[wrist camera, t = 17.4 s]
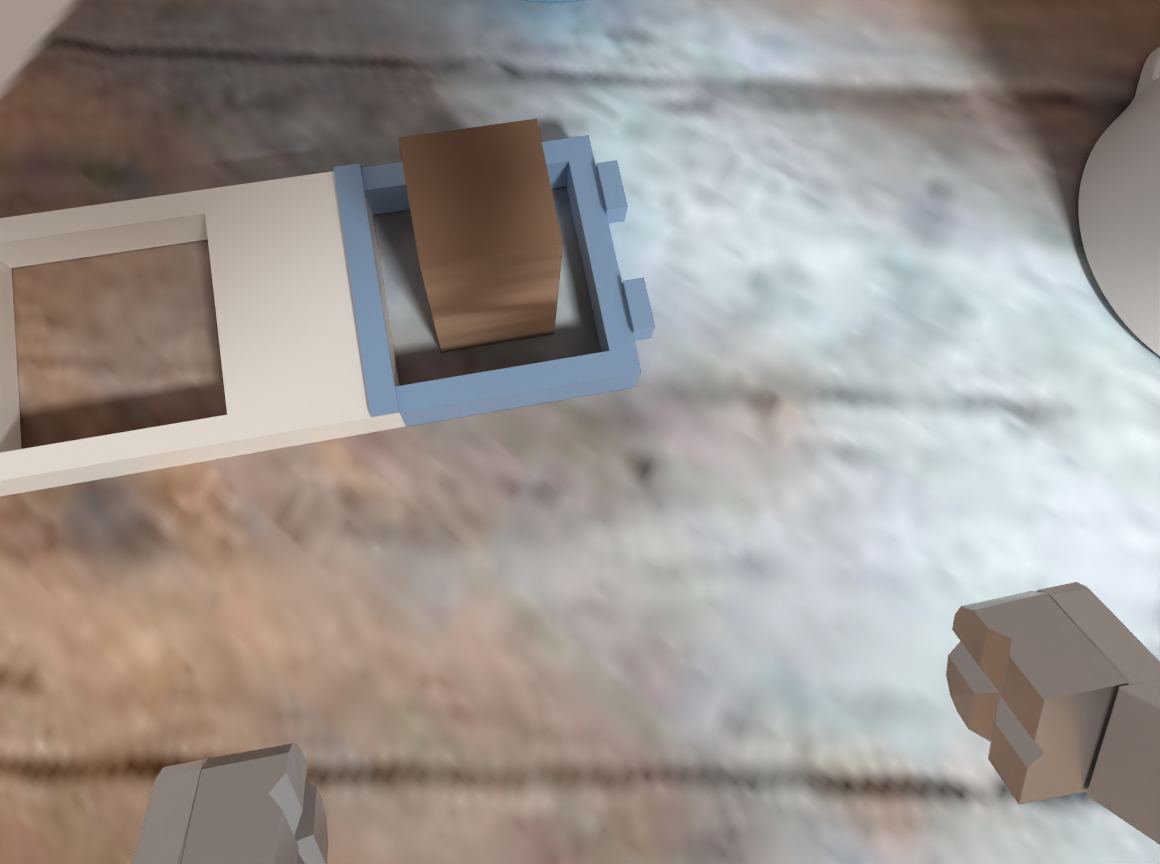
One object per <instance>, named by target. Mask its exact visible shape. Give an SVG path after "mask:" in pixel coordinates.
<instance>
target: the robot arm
mask: <svg viewBox="0 0 1160 864" xmlns="http://www.w3.org/2000/svg"><path fill="white" fill-rule="evenodd" d="M1078 214H1079V226H1080V232H1081V238H1082V242H1083V246H1084V250H1085V253H1086V257H1087V260H1088V262H1089V265H1090V268H1091V270H1092V273H1093V275H1094V277H1095V279H1096V281H1097V283H1098V285H1099V287H1100V289H1101V290H1102V292H1103V294H1104V296H1105V297H1106V299H1107V300H1108V302H1109V303H1110V305H1111V306H1112V308H1113V309H1114V310H1115V312H1116V313H1117V315H1118V316H1119V317H1120V318H1121V319H1122V321H1123V322H1124V323H1125V324H1126V326H1127V327H1128V328H1129V329H1130V330H1131V331H1132V332H1133V333H1134V334H1135V335H1136V336H1137V337H1138V338H1139V339H1140V340H1141V341H1142V342H1143V343H1144V344H1145V345H1147V346H1148V347H1149V348H1150V349H1151V350H1153V351H1154V352H1155V353H1156V354H1158V355H1159V356H1160V46H1159V47H1158V48H1157V49H1155V50H1154V51H1153V52H1152V53H1151V54H1150V55H1149V56H1148V58H1147V60H1146V62H1145V64H1144V67H1143V69H1142V72H1141V76H1140V79H1139V83H1138V86H1137V90H1136V94H1135V97H1134V99H1133V100H1132V102H1131V103H1130V105H1129V106H1128V107H1127V108H1126V109H1125V111H1124V112H1123V113H1122V114H1121V115H1120V116H1119V117H1118V118H1117V119H1116V120H1115V121H1114V122H1113V123H1112V124H1111V125H1110V126H1109V127H1108V128H1107V129H1106V130H1105V131H1104V133H1103V134H1102V135H1101V137H1100V138H1099V140H1098V141H1097V143H1096V144H1095V146H1094V148H1093V150H1092V151H1091V153H1090V156H1089V158H1088V160H1087V163H1086V165H1085V168H1084V171H1083V175H1082V179H1081V184H1080V191H1079V202H1078ZM952 630H953V631H954V632H955V634H956V635H957V637H958V638H959V639H960V643H959V644H958V645H957V646H956V647H955V648H954V649H953V650H952V652H951V653H950V654H949V655H948V663H947V672H946V676H947V681H948V686H949V691H950V695H951V698H952V700H953V703H954V705H955V707H956V709H957V712H958V713H959V715H960V717H961V718H962V720H963V721H964V723H965V724H966V726H967V727H968V729H969V730H971V731H973V732H975V733H976V734H978V735H980V736H982V737H983V738H985V739H987V740H989V741H990V748H989V756H988V759H989V761H990V762H991V764H992V765H993V767H994V768H995V770H996V771H997V773H998V774H999V776H1000V777H1001V779H1002V780H1003V781H1004V783H1005V784H1006V786H1007V787H1008V789H1009V790H1010V792H1011V793H1012V795H1013V796H1014V798H1015V799H1016V801H1017V802H1018V804H1024V803H1029V802H1034V801H1039V800H1044V799H1049V798H1055V797H1060V796H1065V795H1070V794H1075V793H1080V792H1085V791H1087V794H1086V795H1087V796H1089V797H1090V798H1092V799H1093V800H1095V801H1096V802H1097V803H1099V804H1100V805H1102V806H1103V807H1105V808H1106V809H1108V810H1109V811H1111V812H1112V813H1114V814H1115V815H1117V816H1118V817H1120V818H1121V819H1123V820H1124V821H1126V822H1127V823H1129V824H1130V825H1132V826H1133V827H1135V828H1136V829H1137V830H1139V831H1140V832H1142V833H1143V834H1145V835H1146V836H1148V837H1149V838H1151V839H1152V840H1154V841H1155V842H1157V843H1158V844H1160V661H1159V660H1158V659H1157V658H1156V657H1155V656H1154V655H1153V654H1152V653H1151V652H1150V651H1149V650H1148V649H1147V648H1146V647H1145V646H1144V645H1143V644H1142V643H1141V642H1140V641H1139V640H1138V639H1137V638H1136V637H1135V636H1134V635H1133V634H1132V633H1131V632H1130V631H1129V630H1128V628H1127V627H1126V626H1125V625H1124V624H1123V623H1122V622H1121V621H1120V620H1119V619H1118V618H1117V617H1116V616H1115V615H1114V614H1113V613H1112V612H1111V611H1110V610H1109V609H1108V608H1107V607H1106V606H1105V605H1104V604H1103V603H1102V602H1101V601H1100V600H1099V599H1098V598H1097V597H1096V596H1095V595H1094V594H1093V593H1092V591H1091V590H1090V589H1088V588H1087V587H1086V586H1084V585H1082V584H1080V583H1078V582H1075V583H1070V584H1065V585H1060V586H1055V587H1051V588H1046V589H1041V590H1038V591H1029V592H1025V593H1020V594H1016V595H1011V596H1006V597H1002V598H997V599H992V600H988V601H983V602H979V603H974V604H969V605H965V606H961V607H960V608H959V610H958V611H957V612H956V614H955V617H954V623H953V629H952ZM306 767H307V761H306V759H305V757H304V755H303V752H302V750H301V748H300V746H299V744H287V745H282V746H276V747H270V748H265V749H259V750H253V751H248V752H242V753H237V754H231V755H225V756H220V757H214V758H208V759H206V760H200V761H195V762H190V763H184V764H179V765H173V766H168V767H163V769H162V770H161V772H160V773H159V775H158V777H157V778H156V780H155V781H154V785H153V788H152V792H151V796H150V800H149V803H148V807H147V811H146V814H145V818H144V822H143V826H142V829H141V833H140V837H139V840H138V844H137V848H136V852H135V855H134V859H133V863H132V864H327V856H328V836H327V822H326V815H325V811H324V807H323V802H322V799H321V796H320V794H319V791H318V788H317V787H316V786H315V785H313V784H311V783H309V782H307V781H305V778H306Z"/></svg>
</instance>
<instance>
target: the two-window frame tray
mask: <svg viewBox="0 0 1160 864" xmlns="http://www.w3.org/2000/svg"><path fill="white" fill-rule="evenodd" d="M542 146H543V151H544V155H545V160H546V165H547V170H548V175H549V180H550V184H551V189H554V188H561V187H566V188H567V192H568V197H569V202H570V206H571V211H572V216H573V220H574V225H575V230H576V235H577V239H578V244H579V249H580V253H581V258H582V263H583V267H584V272H585V277H586V281H587V286H588V291H589V296H590V300H591V305H592V310H593V314H594V319H595V324H596V328H597V333H598V338H599V342H600V347H601V352H599V353H593V354H587V355H581V356H575V357H569V358H563V359H557V360H551V361H545V362H539V363H533V364H527V365H521V366H515V367H509V368H503V369H497V370H491V371H485V372H479V373H473V374H467V375H461V376H455V377H449V378H443V379H437V380H432V381H426V382H420V383H414V384H408V385H402V386H400V385H399V379H398V373H397V366H396V360H395V354H394V347H393V341H392V335H391V328H390V322H389V315H388V309H387V303H386V296H385V290H384V284H383V277H382V271H381V265H380V258H379V252H378V246H377V239H376V233H375V227H374V220H373V215H377V214H384V213H390V212H397V211H404V210H410V205H409V199H408V193H407V187H406V181H405V175H404V169H403V163H402V162H395V163H388V164H381V165H374V166H367V167H361V166H360V163H358V164H351V165H343V166H336V167H334V171H331V172H324V173H317V174H310V175H303V176H296V177H289V178H282V179H275V180H268V181H260V182H253V183H246V184H239V185H232V186H225V187H218V188H211V189H204V190H197V191H190V192H183V193H175V194H168V195H161V196H154V197H147V198H140V199H133V200H126V201H119V202H112V203H105V204H98V205H90V206H83V207H76V208H69V209H62V210H55V211H48V212H41V213H34V214H27V215H20V216H13V217H5V218H0V496H6V495H11V494H17V493H23V492H29V491H35V490H40V489H46V488H52V487H58V486H64V485H69V484H75V483H81V482H87V481H93V480H99V479H104V478H110V477H116V476H122V475H128V474H133V473H139V472H145V471H151V470H157V469H162V468H168V467H174V466H180V465H186V464H191V463H197V462H203V461H209V460H215V459H221V458H226V457H232V456H238V455H244V454H250V453H255V452H261V451H267V450H273V449H279V448H284V447H290V446H296V445H302V444H308V443H313V442H319V441H325V440H331V439H337V438H343V437H348V436H354V435H360V434H366V433H372V432H377V431H383V430H389V429H395V428H401V427H406V426H412V425H418V424H424V423H430V422H435V421H441V420H447V419H453V418H459V417H465V416H470V415H476V414H482V413H488V412H494V411H499V410H505V409H511V408H517V407H523V406H528V405H534V404H540V403H546V402H552V401H557V400H563V399H569V398H575V397H581V396H586V395H592V394H598V393H604V392H610V391H616V390H621V389H627V388H633V387H635V385H636V383H637V380H638V378H639V376H640V373H641V368H640V364H639V359H638V355H637V350H636V346H635V340H641V339H647V338H651V336H652V333H653V331H654V328H655V324H654V320H653V316H652V311H651V307H650V303H649V298H648V294H647V290H646V285H645V281H644V278H638V279H632V280H626V281H623V283H621V278H620V274H619V269H618V265H617V260H616V256H615V251H614V247H613V242H612V238H611V233H610V229H609V224H608V223H614V222H621V221H624V219H625V215H626V211H627V202H626V198H625V193H624V189H623V185H622V180H621V176H620V172H619V167H618V163H617V160H616V161H609V162H603V163H597V166H595V162H594V157H593V153H592V148H591V144H590V139H589V135H586V136H579V137H572V138H565V139H558V140H551V141H544V142H542ZM207 239H208V246H209V255H210V264H211V273H212V282H213V291H214V300H215V309H216V318H217V327H218V336H219V345H220V354H221V363H222V372H223V381H224V390H225V399H226V409H227V415H222V416H216V417H210V418H204V419H198V420H192V421H186V422H180V423H174V424H168V425H162V426H157V427H151V428H145V429H139V430H133V431H127V432H121V433H115V434H109V435H103V436H97V437H91V438H85V439H79V440H73V441H67V442H61V443H55V444H49V445H43V446H37V447H31V448H25V449H22V446H21V428H20V410H19V392H18V375H17V357H16V339H15V321H14V303H13V285H12V268H16V267H23V266H30V265H36V264H43V263H50V262H57V261H64V260H70V259H77V258H84V257H91V256H98V255H105V254H111V253H118V252H125V251H132V250H139V249H145V248H152V247H159V246H166V245H173V244H179V243H186V242H193V241H200V240H207Z"/></svg>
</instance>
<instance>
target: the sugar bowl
mask: <svg viewBox="0 0 1160 864" xmlns="http://www.w3.org/2000/svg"><path fill="white" fill-rule="evenodd" d="M525 1H533V2H541V3H565V2H575V1H584V0H525Z"/></svg>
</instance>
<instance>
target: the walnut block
mask: <svg viewBox="0 0 1160 864" xmlns="http://www.w3.org/2000/svg"><path fill="white" fill-rule="evenodd" d="M398 139H399V145H400V151H401V157H402V163H403V169H404V175H405V181H406V187H407V193H408V199H409V205H410V211H411V217H412V223H413V229H414V235H415V241H416V247H417V253H418V259H419V265H420V270H421V273H422V277H423V281H424V285H425V289H426V293H427V297H428V301H429V305H430V309H431V313H432V317H433V321H434V325H435V329H436V333H437V337H438V341H439V345H440V349H441V352H446V351H452V350H458V349H464V348H470V347H476V346H482V345H489V344H495V343H501V342H507V341H513V340H519V339H525V338H531V337H538V336H544V335H550V334H554V329H555V319H556V309H557V299H558V289H559V279H560V270H561V260H562V250H563V242H562V237H561V232H560V228H559V223H558V218H557V213H556V208H555V204H554V199H553V194H552V189H551V184H550V180H549V175H548V170H547V165H546V160H545V155H544V151H543V146H542V141H541V136H540V131H539V127H538V122H537V119H532V120H525V121H518V122H511V123H503V124H496V125H489V126H482V127H474V128H467V129H460V130H453V131H445V132H438V133H431V134H424V135H416V136H409V137H402V138H398Z"/></svg>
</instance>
